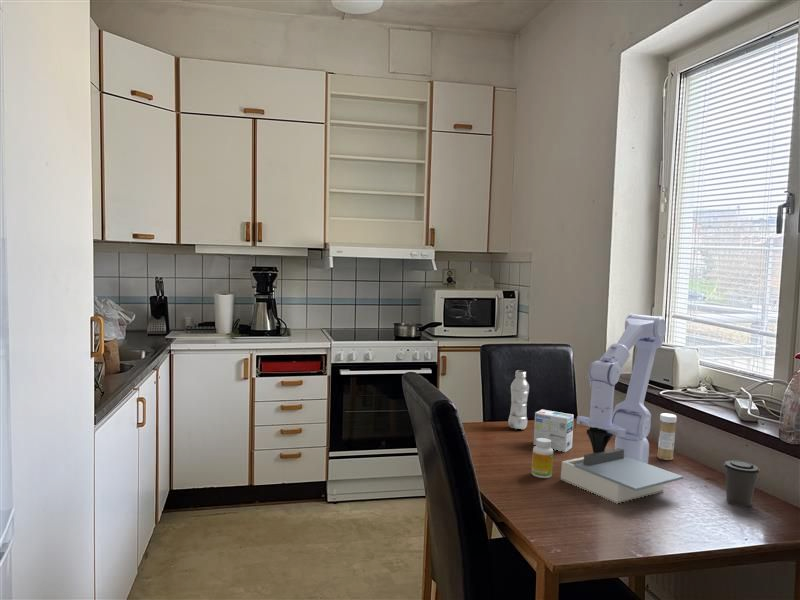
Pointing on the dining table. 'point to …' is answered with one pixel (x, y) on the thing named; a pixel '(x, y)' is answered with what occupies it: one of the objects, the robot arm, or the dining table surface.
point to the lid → (625, 470)
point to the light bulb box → (554, 429)
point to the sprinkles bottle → (666, 436)
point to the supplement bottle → (542, 458)
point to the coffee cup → (740, 481)
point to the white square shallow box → (601, 484)
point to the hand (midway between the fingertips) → (598, 456)
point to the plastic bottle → (519, 401)
